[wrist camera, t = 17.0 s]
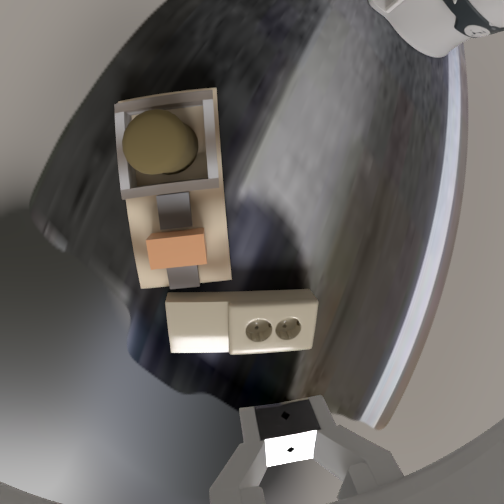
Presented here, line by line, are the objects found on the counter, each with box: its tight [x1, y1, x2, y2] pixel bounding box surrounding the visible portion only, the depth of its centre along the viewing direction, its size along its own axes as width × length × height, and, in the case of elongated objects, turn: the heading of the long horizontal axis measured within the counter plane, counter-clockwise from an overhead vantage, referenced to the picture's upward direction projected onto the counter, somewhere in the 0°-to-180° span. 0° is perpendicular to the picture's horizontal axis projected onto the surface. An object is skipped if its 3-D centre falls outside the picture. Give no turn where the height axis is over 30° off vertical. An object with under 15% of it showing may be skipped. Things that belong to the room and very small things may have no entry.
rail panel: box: [114, 88, 232, 289], centre depth 30 cm, size 22×11×4 cm, turn 4°
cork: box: [122, 109, 199, 175], centre depth 24 cm, size 6×6×11 cm
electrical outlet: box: [165, 289, 318, 355], centre depth 36 cm, size 7×4×18 cm
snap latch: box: [146, 228, 207, 270], centre depth 31 cm, size 3×6×3 cm, turn 94°
